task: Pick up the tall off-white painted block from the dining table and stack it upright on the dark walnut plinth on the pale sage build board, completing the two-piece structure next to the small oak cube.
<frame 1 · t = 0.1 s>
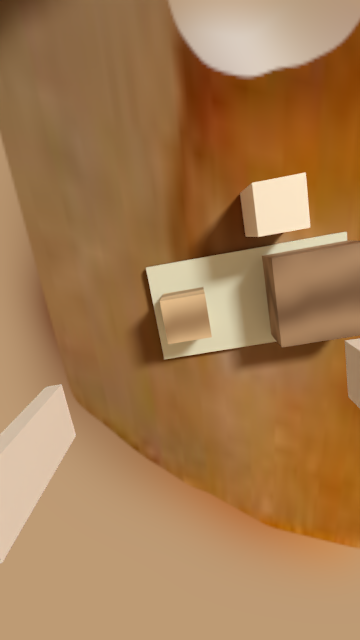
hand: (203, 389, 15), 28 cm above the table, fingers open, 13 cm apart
white block: (263, 211, 40), on the table
plinth: (307, 289, 41), point 1 cm above the table, touching build board
oak cube: (186, 309, 42), point 1 cm above the table, touching build board
build board: (249, 297, 42), on the table
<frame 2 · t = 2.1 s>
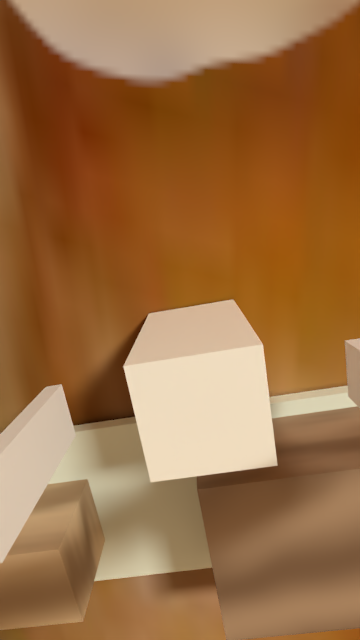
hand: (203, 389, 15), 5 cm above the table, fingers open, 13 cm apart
white block: (197, 346, 20), on the table
plinth: (284, 486, 22), point 1 cm above the table, touching build board
oak cube: (60, 514, 23), point 1 cm above the table, touching build board
build board: (177, 490, 23), on the table
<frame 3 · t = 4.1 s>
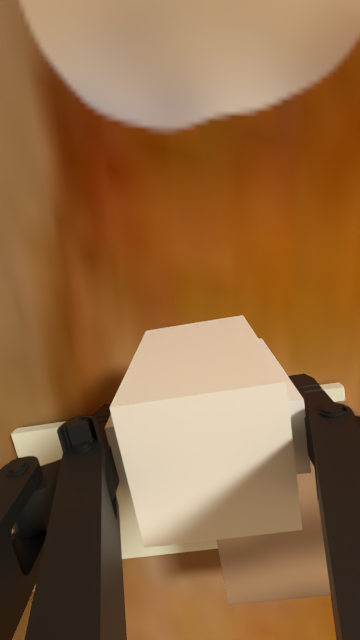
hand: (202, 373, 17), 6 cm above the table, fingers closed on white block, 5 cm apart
white block: (201, 368, 18), point 6 cm above the table, touching gripper
plinth: (279, 472, 24), point 1 cm above the table, touching build board
build board: (185, 477, 26), on the table
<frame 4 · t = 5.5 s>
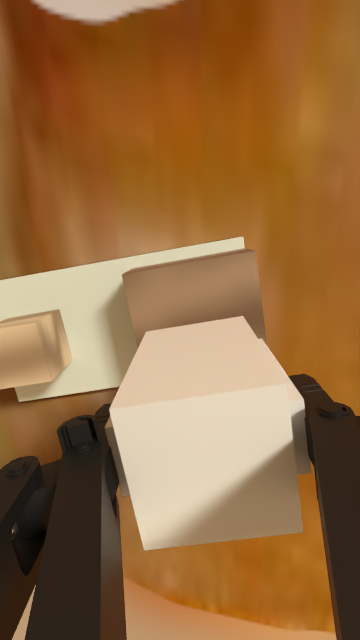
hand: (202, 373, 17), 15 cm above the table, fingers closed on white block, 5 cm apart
white block: (201, 369, 18), point 14 cm above the table, touching gripper
plinth: (197, 312, 31), point 1 cm above the table, touching build board
oak cube: (40, 338, 32), point 1 cm above the table, touching build board
build board: (124, 323, 32), on the table
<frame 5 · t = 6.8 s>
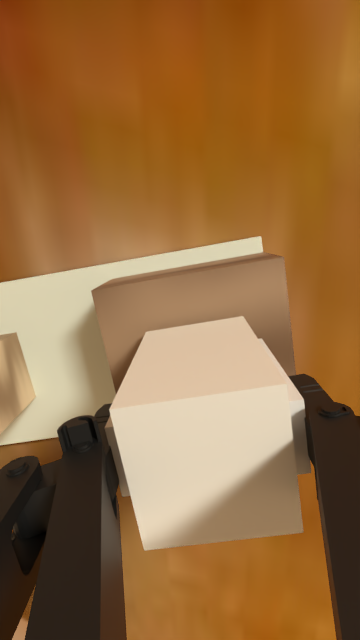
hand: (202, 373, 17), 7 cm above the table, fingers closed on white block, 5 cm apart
white block: (201, 369, 18), point 6 cm above the table, touching gripper
plinth: (198, 337, 23), point 1 cm above the table, touching build board
build board: (103, 349, 24), on the table
when the fingers open (6 cm above the table, at t = 7.2 s): white block stays where it is, resting on plinth.
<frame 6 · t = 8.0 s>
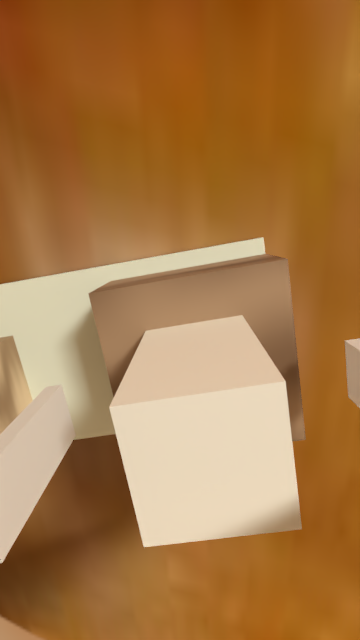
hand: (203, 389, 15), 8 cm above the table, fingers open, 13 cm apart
white block: (201, 368, 18), point 6 cm above the table, touching plinth
plinth: (199, 341, 23), point 1 cm above the table, touching build board, white block
build board: (102, 353, 24), on the table
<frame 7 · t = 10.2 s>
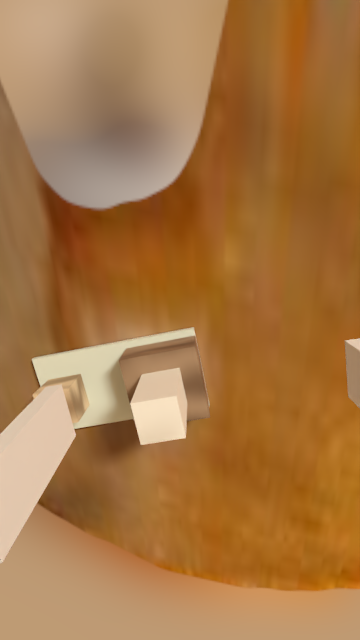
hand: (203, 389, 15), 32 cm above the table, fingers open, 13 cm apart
white block: (164, 388, 44), point 6 cm above the table, touching plinth
plinth: (167, 374, 48), point 1 cm above the table, touching build board, white block
oak cube: (69, 392, 50), point 1 cm above the table, touching build board
build board: (122, 380, 50), on the table
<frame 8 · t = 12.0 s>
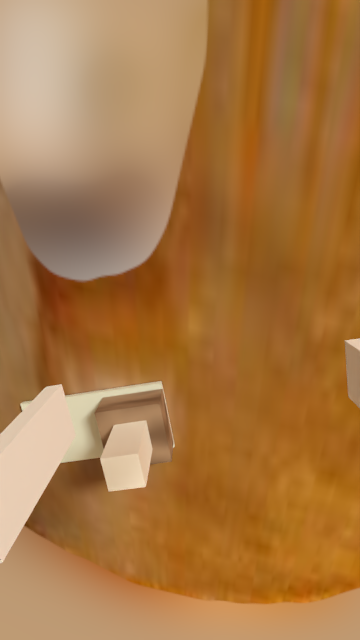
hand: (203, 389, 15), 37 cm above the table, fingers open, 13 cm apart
white block: (133, 437, 51), point 6 cm above the table, touching plinth
plinth: (138, 420, 56), point 1 cm above the table, touching build board, white block
build board: (99, 423, 57), on the table
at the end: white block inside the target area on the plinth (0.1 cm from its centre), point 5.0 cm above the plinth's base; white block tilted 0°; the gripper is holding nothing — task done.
